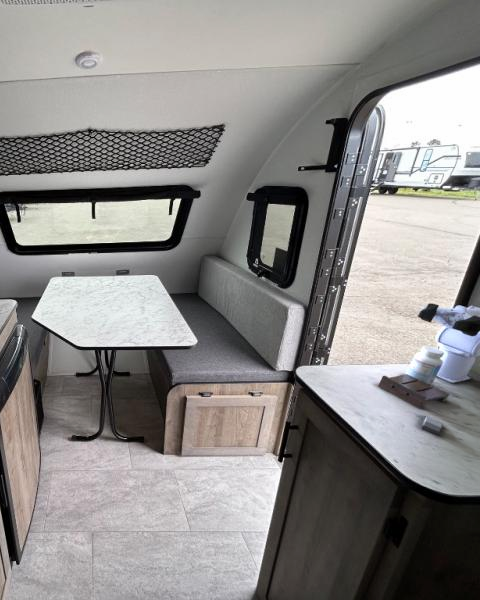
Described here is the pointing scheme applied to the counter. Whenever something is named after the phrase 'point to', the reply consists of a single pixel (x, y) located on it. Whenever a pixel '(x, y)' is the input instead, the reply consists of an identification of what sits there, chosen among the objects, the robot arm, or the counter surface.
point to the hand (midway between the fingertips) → (437, 319)
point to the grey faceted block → (431, 425)
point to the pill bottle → (426, 364)
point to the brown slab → (412, 389)
